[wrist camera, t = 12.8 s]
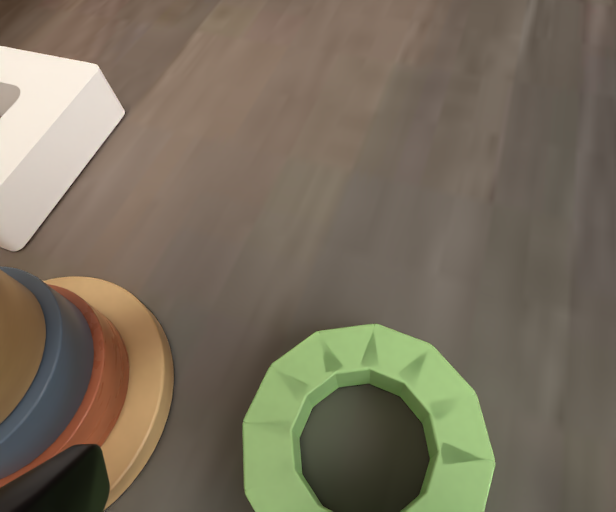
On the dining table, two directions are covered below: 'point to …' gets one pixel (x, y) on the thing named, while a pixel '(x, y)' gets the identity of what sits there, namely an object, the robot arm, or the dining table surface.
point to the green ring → (383, 374)
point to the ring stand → (79, 374)
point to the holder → (46, 134)
